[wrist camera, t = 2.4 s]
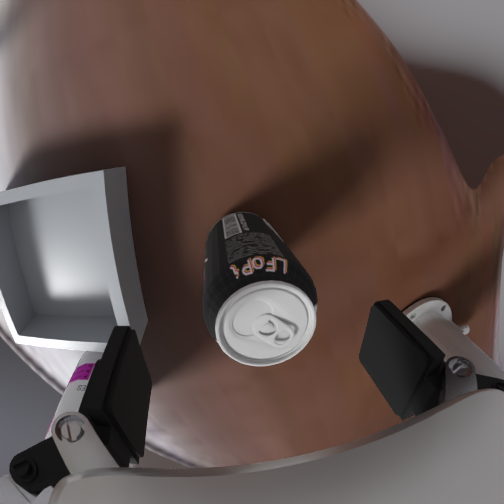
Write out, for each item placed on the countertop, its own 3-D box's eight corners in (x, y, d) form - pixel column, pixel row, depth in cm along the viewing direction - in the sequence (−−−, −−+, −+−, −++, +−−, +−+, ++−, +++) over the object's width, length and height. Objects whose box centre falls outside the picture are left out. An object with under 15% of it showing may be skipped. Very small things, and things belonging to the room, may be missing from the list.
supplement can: (93, 391, 27) (63, 490, 13) (73, 340, 24) (19, 448, 10) (154, 398, 28) (141, 510, 14) (141, 346, 25) (110, 478, 11)
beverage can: (247, 287, 24) (275, 389, 13) (192, 252, 23) (177, 345, 11) (288, 235, 23) (353, 310, 12) (233, 195, 22) (255, 242, 10)
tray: (125, 166, 19) (103, 170, 15) (148, 320, 24) (137, 353, 20) (5, 190, 18) (-26, 200, 13) (35, 318, 23) (15, 342, 18)
